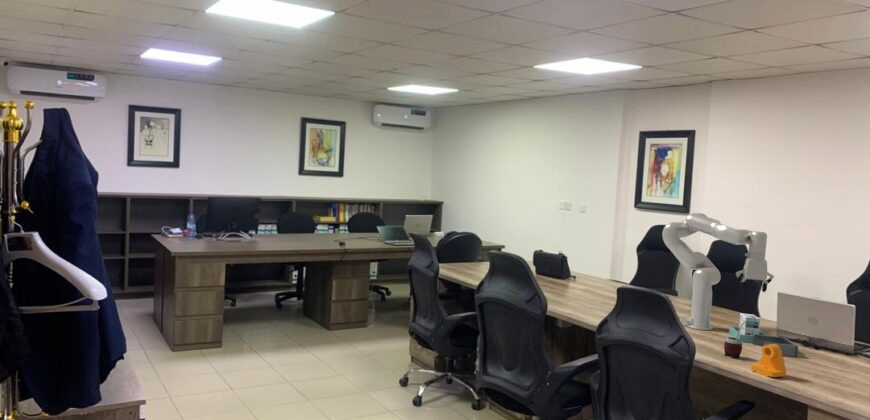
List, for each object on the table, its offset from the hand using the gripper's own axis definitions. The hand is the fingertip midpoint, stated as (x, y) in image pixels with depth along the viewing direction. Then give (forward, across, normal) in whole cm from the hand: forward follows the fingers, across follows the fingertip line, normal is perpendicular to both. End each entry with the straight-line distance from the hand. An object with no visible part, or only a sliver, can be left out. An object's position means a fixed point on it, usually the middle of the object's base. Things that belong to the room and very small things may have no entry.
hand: (753, 290), depth 310 cm
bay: (+24, +5, -20) cm, 32 cm away
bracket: (+24, -11, -63) cm, 69 cm away
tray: (+24, 0, 0) cm, 24 cm away
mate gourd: (+24, -18, -40) cm, 50 cm away
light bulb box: (+24, 0, 0) cm, 24 cm away
